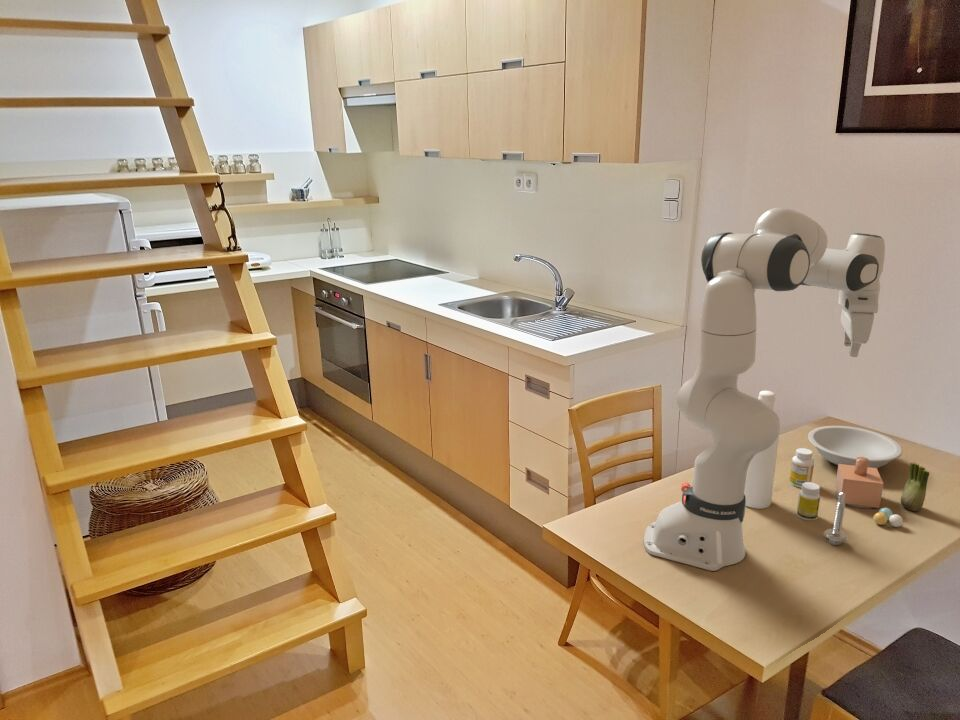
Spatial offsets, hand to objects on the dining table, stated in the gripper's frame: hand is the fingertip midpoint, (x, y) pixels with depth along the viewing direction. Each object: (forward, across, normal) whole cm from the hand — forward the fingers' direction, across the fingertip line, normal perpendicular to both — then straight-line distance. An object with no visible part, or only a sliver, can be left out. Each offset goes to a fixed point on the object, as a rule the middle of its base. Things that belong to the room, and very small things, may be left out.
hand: (850, 350), depth 183 cm
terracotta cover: (+37, +9, +5) cm, 38 cm away
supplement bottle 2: (+37, +22, -8) cm, 44 cm away
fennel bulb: (+38, +10, +17) cm, 42 cm away
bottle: (+37, +18, -20) cm, 46 cm away
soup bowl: (+38, -14, +7) cm, 41 cm away
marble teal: (+37, +18, +10) cm, 43 cm away
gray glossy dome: (+37, +9, +5) cm, 39 cm away
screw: (+37, +33, -3) cm, 50 cm away
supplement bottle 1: (+37, +4, -8) cm, 38 cm away
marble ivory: (+37, +21, +12) cm, 44 cm away
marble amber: (+37, +21, +8) cm, 44 cm away
